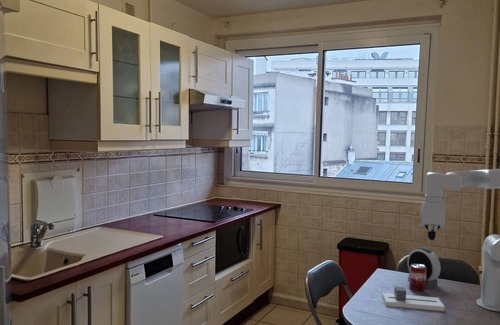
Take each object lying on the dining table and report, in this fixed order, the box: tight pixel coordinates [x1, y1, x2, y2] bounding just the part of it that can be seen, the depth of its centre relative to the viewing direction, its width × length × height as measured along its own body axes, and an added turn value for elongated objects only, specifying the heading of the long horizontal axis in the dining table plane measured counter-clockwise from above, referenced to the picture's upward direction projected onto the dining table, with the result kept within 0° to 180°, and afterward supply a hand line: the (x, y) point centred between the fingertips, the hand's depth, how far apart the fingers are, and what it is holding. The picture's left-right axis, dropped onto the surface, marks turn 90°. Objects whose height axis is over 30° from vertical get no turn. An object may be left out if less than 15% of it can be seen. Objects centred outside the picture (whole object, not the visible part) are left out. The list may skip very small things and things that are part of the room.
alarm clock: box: [407, 246, 442, 289], centre depth 208 cm, size 16×10×18 cm, turn 28°
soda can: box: [408, 264, 427, 294], centre depth 199 cm, size 7×7×12 cm
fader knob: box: [393, 286, 407, 300], centre depth 183 cm, size 4×5×4 cm
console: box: [381, 292, 446, 312], centre depth 182 cm, size 24×10×2 cm, turn 80°
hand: (431, 239), depth 189 cm, fingers closed
